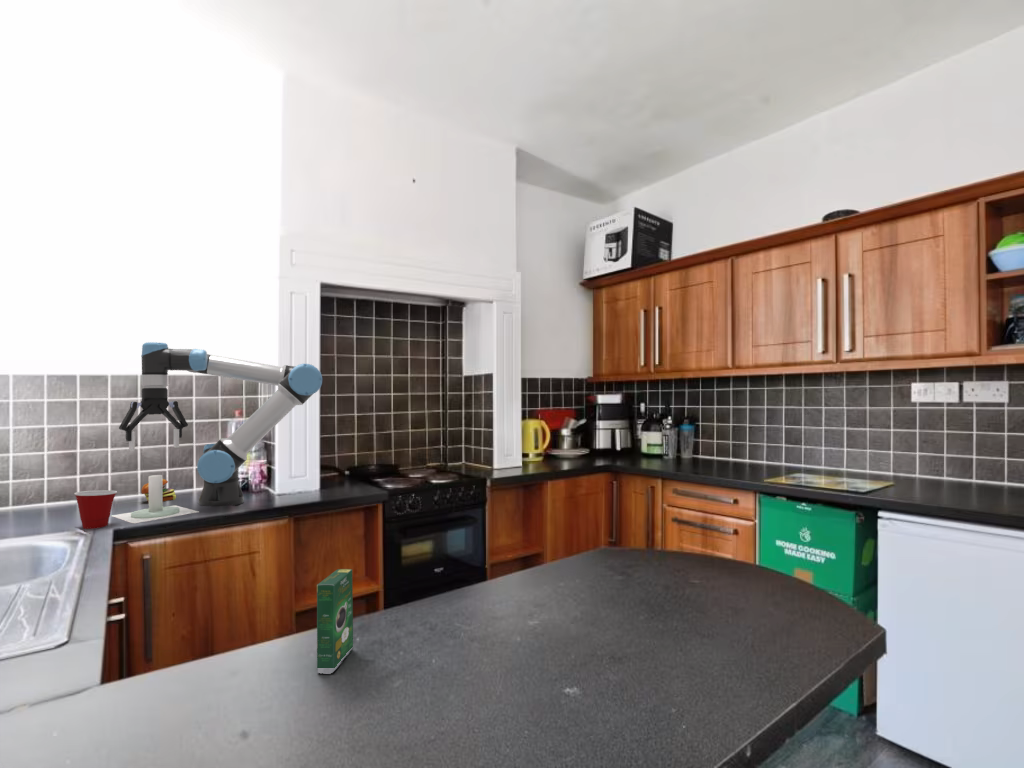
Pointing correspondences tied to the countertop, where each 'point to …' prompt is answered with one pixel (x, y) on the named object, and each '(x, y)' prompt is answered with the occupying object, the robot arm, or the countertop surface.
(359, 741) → the countertop surface
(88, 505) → the plastic cup
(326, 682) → the countertop surface
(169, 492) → the cheeseburger
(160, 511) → the lid
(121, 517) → the mat
